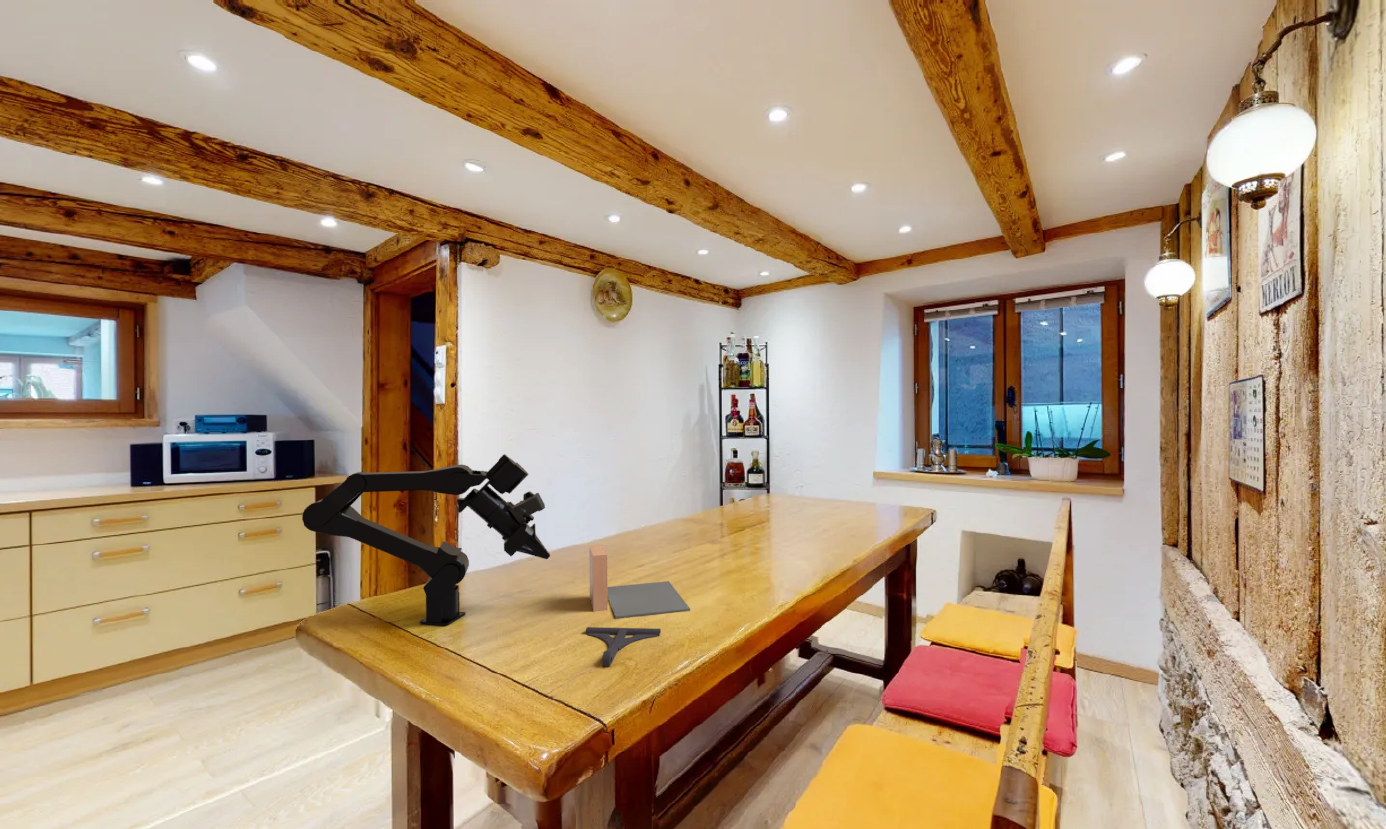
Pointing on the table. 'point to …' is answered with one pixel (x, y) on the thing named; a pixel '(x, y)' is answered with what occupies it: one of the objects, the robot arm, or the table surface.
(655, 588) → the mat
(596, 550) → the brick
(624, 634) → the bracket
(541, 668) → the table surface
